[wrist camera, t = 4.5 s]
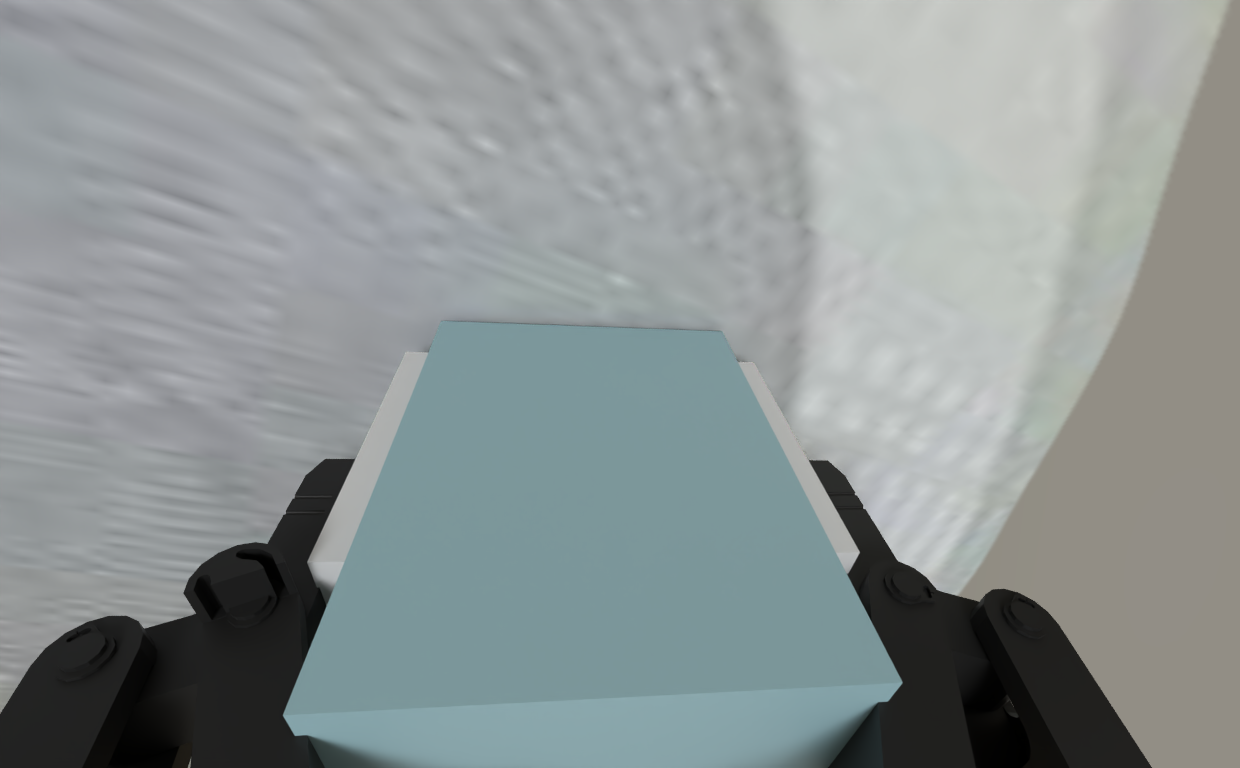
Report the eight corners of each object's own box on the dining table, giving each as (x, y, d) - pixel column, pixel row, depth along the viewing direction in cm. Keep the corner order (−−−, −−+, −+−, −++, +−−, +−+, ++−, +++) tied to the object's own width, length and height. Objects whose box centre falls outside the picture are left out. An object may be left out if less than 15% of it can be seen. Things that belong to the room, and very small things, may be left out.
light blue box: (455, 444, 17) (355, 840, 9) (441, 321, 14) (282, 715, 6) (695, 446, 18) (807, 803, 10) (722, 331, 15) (902, 682, 7)
